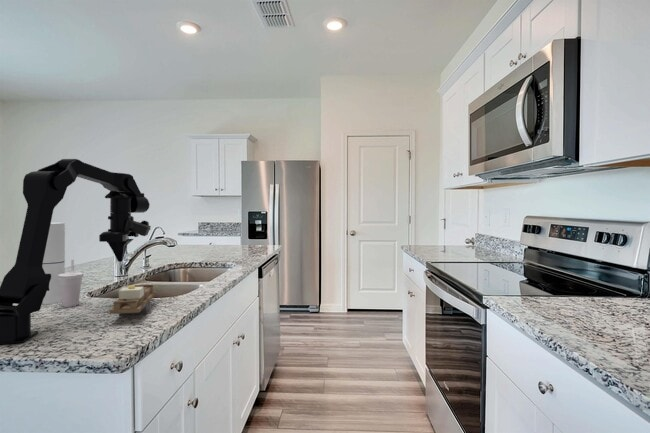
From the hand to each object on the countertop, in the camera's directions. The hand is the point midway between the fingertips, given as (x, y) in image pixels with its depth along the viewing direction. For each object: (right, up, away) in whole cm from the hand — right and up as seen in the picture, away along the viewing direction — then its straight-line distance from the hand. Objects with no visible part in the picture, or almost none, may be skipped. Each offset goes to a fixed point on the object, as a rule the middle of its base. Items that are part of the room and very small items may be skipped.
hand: (120, 261), depth 111 cm
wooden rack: (+11, -14, -11) cm, 21 cm away
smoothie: (-12, -13, -5) cm, 19 cm away
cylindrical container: (-22, -13, -1) cm, 25 cm away
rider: (+12, -10, -15) cm, 22 cm away
